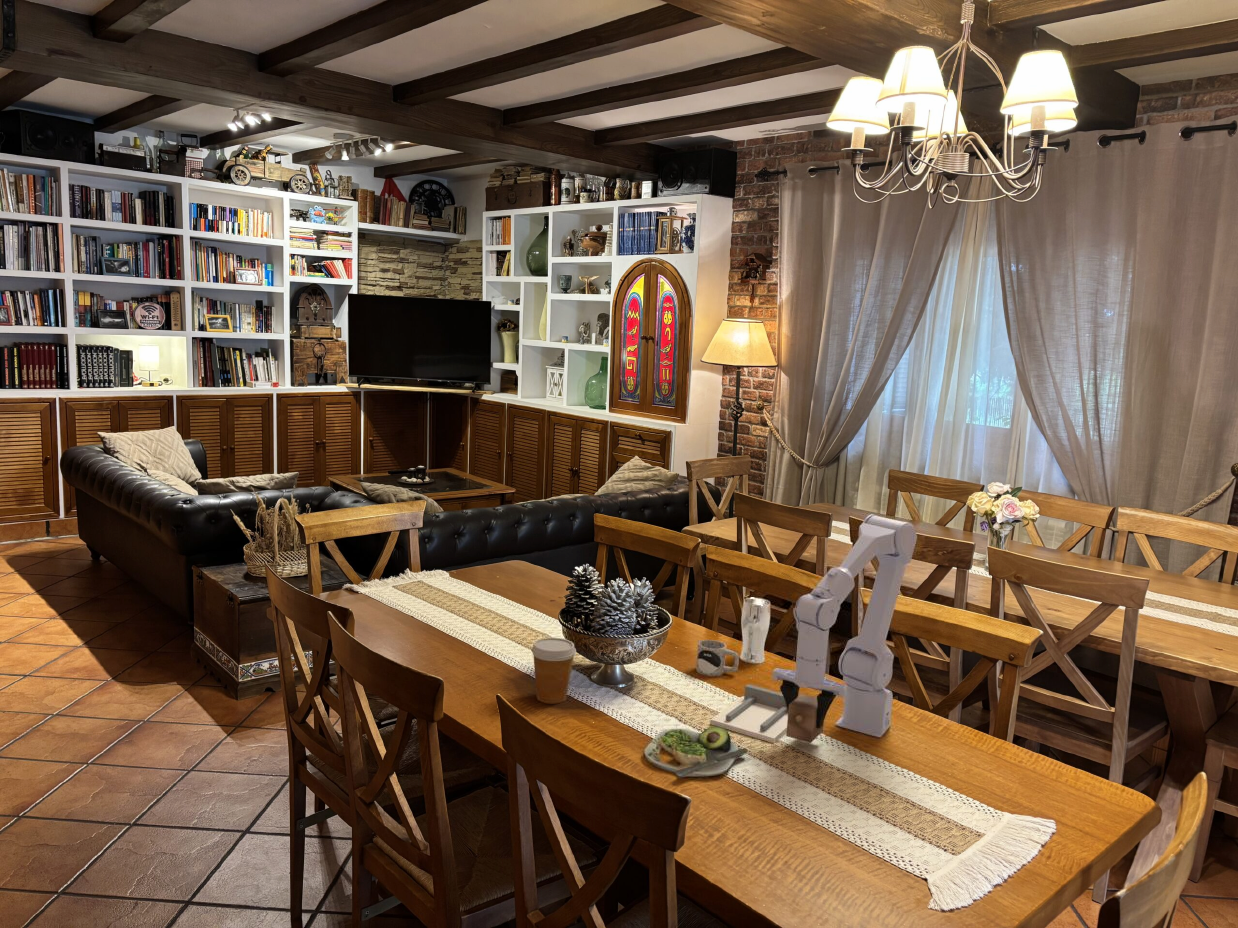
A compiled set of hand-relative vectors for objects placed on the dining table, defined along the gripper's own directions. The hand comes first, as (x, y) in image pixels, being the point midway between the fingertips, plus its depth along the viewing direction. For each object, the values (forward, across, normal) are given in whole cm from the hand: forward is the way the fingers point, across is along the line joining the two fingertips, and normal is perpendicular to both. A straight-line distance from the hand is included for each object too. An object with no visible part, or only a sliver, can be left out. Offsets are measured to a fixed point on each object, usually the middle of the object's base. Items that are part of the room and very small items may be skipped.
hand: (805, 722), depth 179 cm
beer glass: (+5, -28, +39) cm, 48 cm away
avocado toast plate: (+5, -15, -18) cm, 24 cm away
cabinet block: (+2, 0, 0) cm, 2 cm away
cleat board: (+5, -12, +5) cm, 14 cm away
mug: (+5, -31, +25) cm, 40 cm away
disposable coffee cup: (+5, -52, -13) cm, 54 cm away
